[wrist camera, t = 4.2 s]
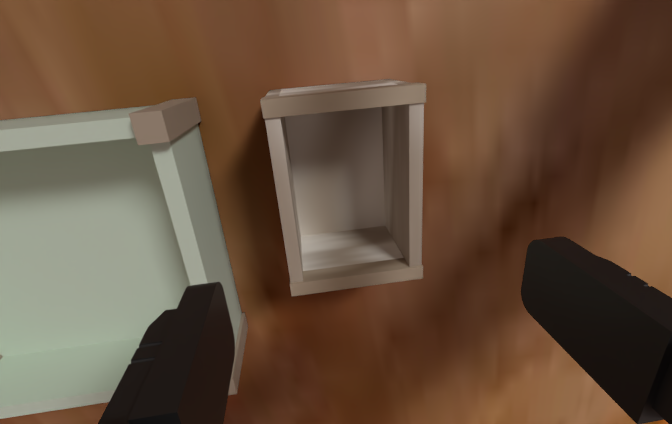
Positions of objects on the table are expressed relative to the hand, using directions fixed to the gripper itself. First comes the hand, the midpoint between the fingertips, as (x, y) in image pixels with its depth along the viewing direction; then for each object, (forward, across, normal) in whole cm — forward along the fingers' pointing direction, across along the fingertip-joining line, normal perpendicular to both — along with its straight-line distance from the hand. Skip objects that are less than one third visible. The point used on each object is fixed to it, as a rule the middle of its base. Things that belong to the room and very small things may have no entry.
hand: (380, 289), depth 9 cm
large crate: (+13, +14, +3) cm, 19 cm away
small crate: (+12, 0, 0) cm, 12 cm away
